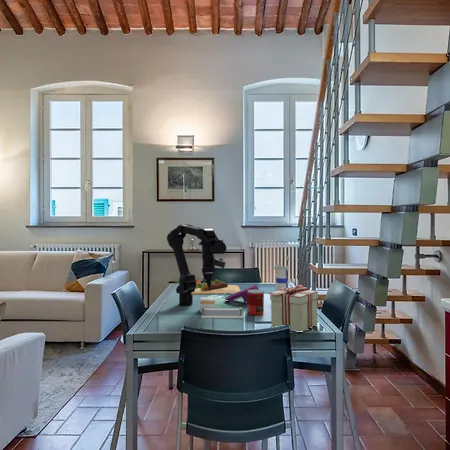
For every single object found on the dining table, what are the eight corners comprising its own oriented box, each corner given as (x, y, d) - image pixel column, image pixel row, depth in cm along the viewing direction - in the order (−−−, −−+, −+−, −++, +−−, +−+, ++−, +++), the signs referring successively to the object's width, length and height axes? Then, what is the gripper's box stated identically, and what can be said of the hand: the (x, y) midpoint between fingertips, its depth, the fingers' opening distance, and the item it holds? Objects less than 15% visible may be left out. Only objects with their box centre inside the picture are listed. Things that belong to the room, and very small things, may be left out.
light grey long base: (201, 318, 177) (201, 310, 176) (202, 313, 186) (202, 305, 185) (242, 318, 177) (242, 310, 177) (241, 313, 186) (241, 305, 186)
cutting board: (182, 295, 228) (182, 283, 228) (184, 288, 252) (184, 276, 252) (241, 295, 230) (241, 283, 230) (238, 288, 254) (238, 276, 253)
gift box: (280, 318, 177) (280, 281, 176) (318, 325, 166) (319, 285, 166) (261, 327, 163) (262, 286, 162) (302, 335, 152) (303, 292, 152)
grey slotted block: (200, 312, 188) (200, 299, 188) (200, 309, 194) (200, 297, 194) (214, 312, 188) (214, 299, 188) (214, 309, 194) (214, 297, 194)
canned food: (259, 316, 180) (259, 293, 180) (244, 314, 184) (244, 291, 184) (266, 313, 187) (266, 290, 186) (251, 311, 191) (251, 288, 191)
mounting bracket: (229, 314, 206) (260, 302, 202) (223, 300, 207) (253, 287, 203) (233, 310, 215) (262, 298, 211) (227, 296, 216) (256, 284, 212)
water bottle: (276, 298, 220) (277, 254, 220) (291, 299, 216) (291, 255, 215) (271, 300, 213) (271, 255, 213) (285, 302, 209) (286, 256, 208)
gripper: (224, 254, 182) (226, 287, 182) (223, 252, 201) (225, 282, 201) (201, 255, 182) (202, 288, 182) (202, 253, 201) (203, 283, 200)
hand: (209, 285), depth 191 cm, fingers open, 9 cm apart
